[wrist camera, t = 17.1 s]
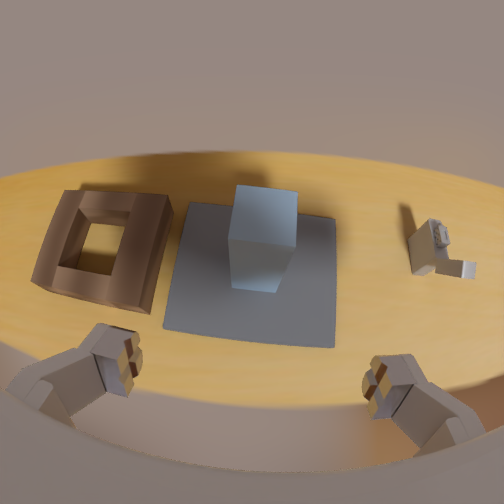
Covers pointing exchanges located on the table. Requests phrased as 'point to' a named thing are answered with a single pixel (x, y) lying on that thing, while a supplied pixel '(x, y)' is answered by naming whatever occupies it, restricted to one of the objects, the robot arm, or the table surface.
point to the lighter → (436, 252)
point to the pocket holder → (129, 253)
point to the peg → (261, 237)
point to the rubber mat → (249, 301)
